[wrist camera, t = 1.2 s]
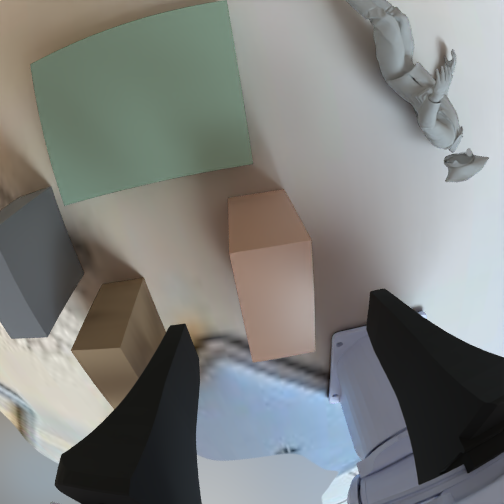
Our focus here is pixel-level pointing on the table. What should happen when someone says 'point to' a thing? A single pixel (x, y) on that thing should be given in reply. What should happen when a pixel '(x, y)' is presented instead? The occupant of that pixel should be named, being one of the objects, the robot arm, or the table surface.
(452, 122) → the soldier figure
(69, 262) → the charcoal brick
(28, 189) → the table surface
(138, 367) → the walnut brick
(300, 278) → the terracotta brick
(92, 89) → the sage board
